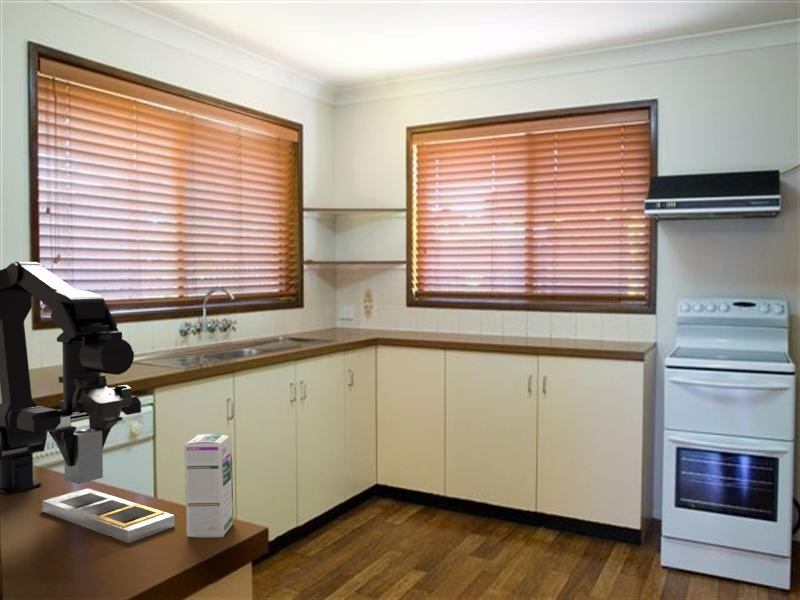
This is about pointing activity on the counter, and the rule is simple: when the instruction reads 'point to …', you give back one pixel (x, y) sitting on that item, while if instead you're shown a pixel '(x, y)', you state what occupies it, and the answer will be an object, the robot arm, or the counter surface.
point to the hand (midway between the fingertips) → (83, 462)
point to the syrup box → (209, 485)
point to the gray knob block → (86, 456)
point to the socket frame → (109, 514)
